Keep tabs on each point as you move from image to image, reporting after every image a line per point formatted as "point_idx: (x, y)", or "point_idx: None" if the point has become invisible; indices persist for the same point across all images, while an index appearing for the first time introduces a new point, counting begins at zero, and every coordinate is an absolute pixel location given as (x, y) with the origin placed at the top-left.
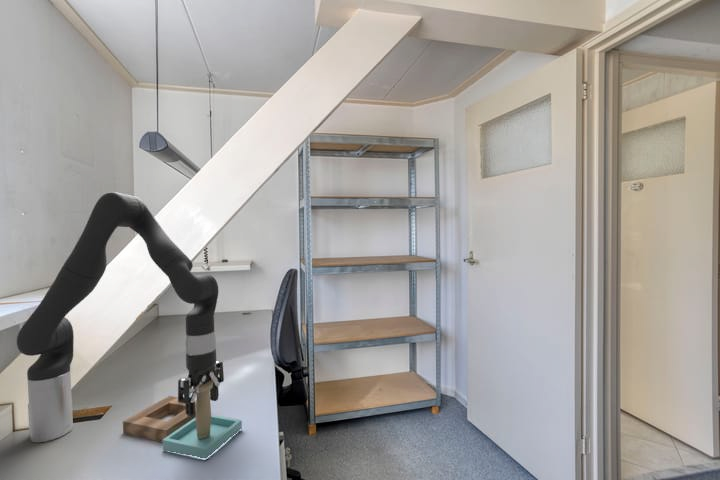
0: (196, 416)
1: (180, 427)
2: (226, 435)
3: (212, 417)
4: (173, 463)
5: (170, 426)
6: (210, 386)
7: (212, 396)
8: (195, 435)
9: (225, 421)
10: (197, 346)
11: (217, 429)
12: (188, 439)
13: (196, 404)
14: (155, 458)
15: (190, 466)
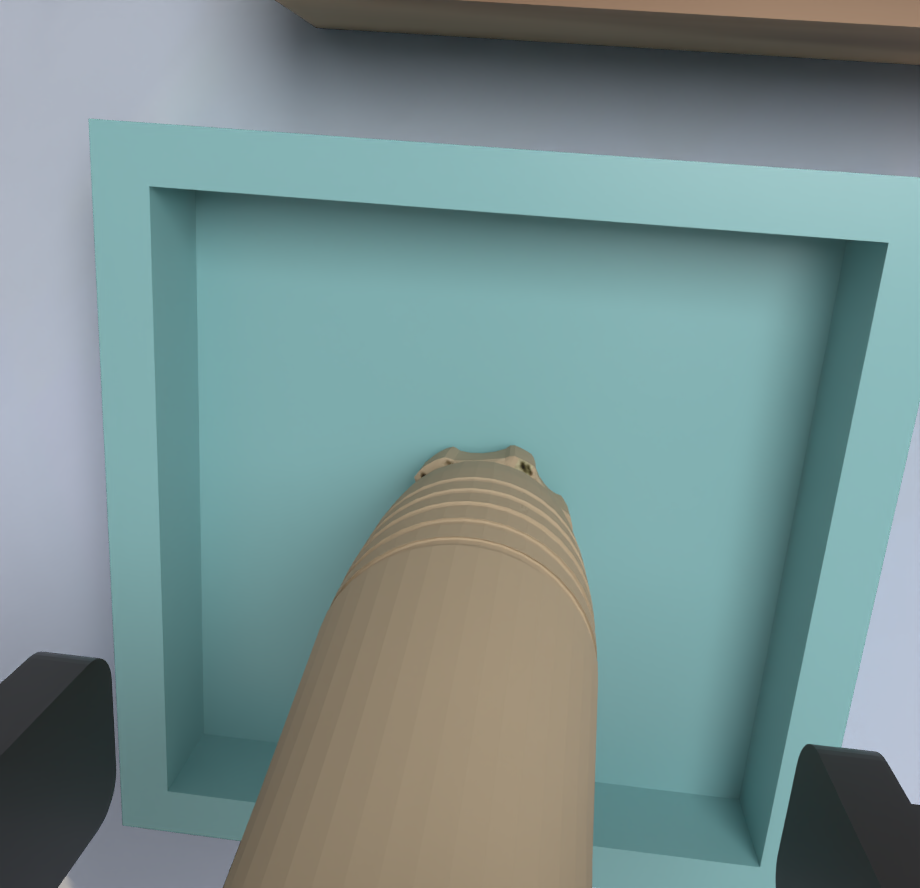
0: (320, 633)
1: (572, 29)
2: None
3: (840, 461)
4: (41, 440)
5: None
6: None
7: (824, 866)
8: (486, 382)
9: (787, 680)
10: None
11: (674, 585)
12: (384, 351)
13: (268, 779)
14: (29, 156)
15: (69, 641)
